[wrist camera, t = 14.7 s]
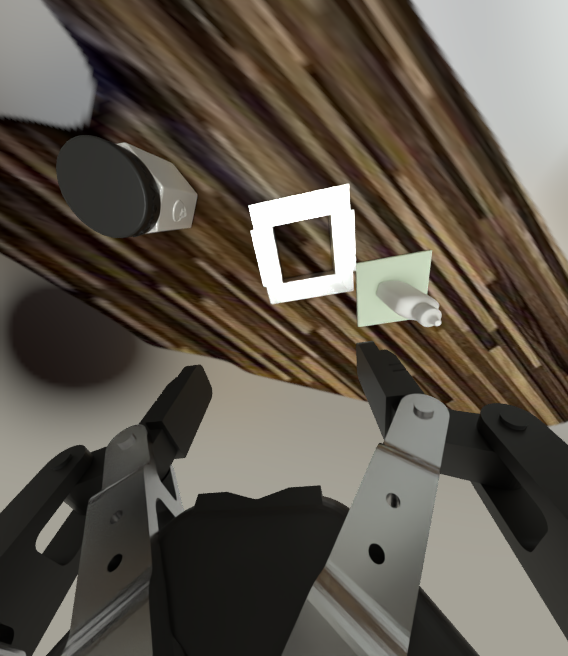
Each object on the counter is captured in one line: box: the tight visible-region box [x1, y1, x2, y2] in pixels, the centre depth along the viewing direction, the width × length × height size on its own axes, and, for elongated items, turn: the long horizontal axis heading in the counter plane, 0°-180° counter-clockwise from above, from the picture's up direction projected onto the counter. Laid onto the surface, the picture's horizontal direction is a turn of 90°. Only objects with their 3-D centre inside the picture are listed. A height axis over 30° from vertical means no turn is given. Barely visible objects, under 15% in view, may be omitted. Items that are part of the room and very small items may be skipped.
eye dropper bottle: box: [376, 281, 442, 327], centre depth 30 cm, size 4×6×12 cm
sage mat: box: [356, 250, 432, 327], centre depth 36 cm, size 11×11×1 cm
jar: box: [56, 135, 197, 238], centre depth 25 cm, size 9×8×12 cm
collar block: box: [249, 184, 356, 304], centre depth 32 cm, size 14×14×2 cm
